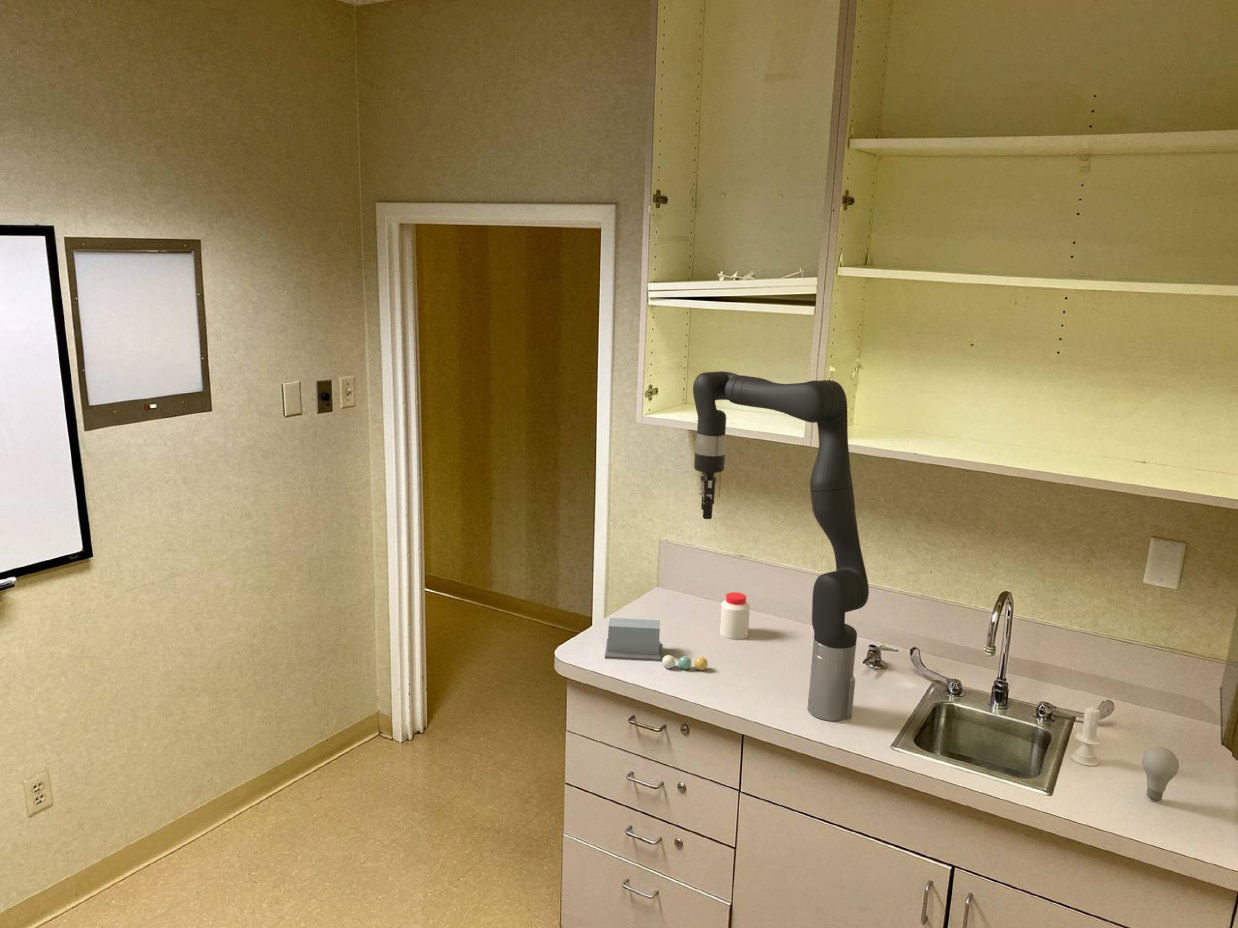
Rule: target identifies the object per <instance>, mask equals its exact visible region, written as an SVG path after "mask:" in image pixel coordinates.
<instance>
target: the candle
mask: <svg viewBox="0 0 1238 928" xmlns="http://www.w3.org/2000/svg"><path fill="white" fill-rule="evenodd" d="M1084 710H1085V711H1084V715H1083V726H1082V731H1081V732H1079V733H1078V732H1077V733H1076V734H1075V739H1077V740H1078V741H1079V742H1081V745H1080V746H1079V747H1078V748H1076V749H1075V751H1074V752H1073V751H1072V753H1071V754H1070V757H1071V759H1072V760H1073V761H1074V762H1076V763H1078V764H1079V765H1082V766H1086V767H1096V766H1099V764H1100V760H1099V759H1098V758H1097V753H1095V752H1094V747H1093V746H1097V745H1100V744H1101V743H1102V741H1101V739H1100V738H1099V737H1098V736H1097V731H1098V726H1099V724H1100V716H1101V715H1100V714H1101V711H1100V709H1098V708H1097V707H1095V706H1094V705H1093V706H1087V707H1086V708H1085V709H1084Z"/></svg>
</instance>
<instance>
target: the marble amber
mask: <svg viewBox="0 0 1238 928" xmlns="http://www.w3.org/2000/svg"><path fill="white" fill-rule="evenodd" d="M694 667H695V668H696V669H697V670H698V671H703V670H705V669H706V668H708V660H707V658H705V657H704V656H698V657H696V659H695V660H694Z"/></svg>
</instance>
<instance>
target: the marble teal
mask: <svg viewBox="0 0 1238 928" xmlns="http://www.w3.org/2000/svg"><path fill="white" fill-rule="evenodd" d="M691 666H692V659H691V658H690V657H689V656H687V655H683V656H681V657H680V658H679V659H678V667H680V668H681V669H682V670H688V669H690V667H691Z"/></svg>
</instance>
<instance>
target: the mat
mask: <svg viewBox="0 0 1238 928" xmlns="http://www.w3.org/2000/svg"><path fill="white" fill-rule="evenodd" d="M604 659H611V660H612V659H615V660H631V661H645V662H646V661H649V662H651V661H652V662H661V641H660V640H659V654H639V653H620V652H608V638H607V639H606V646H605V652H604Z"/></svg>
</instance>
